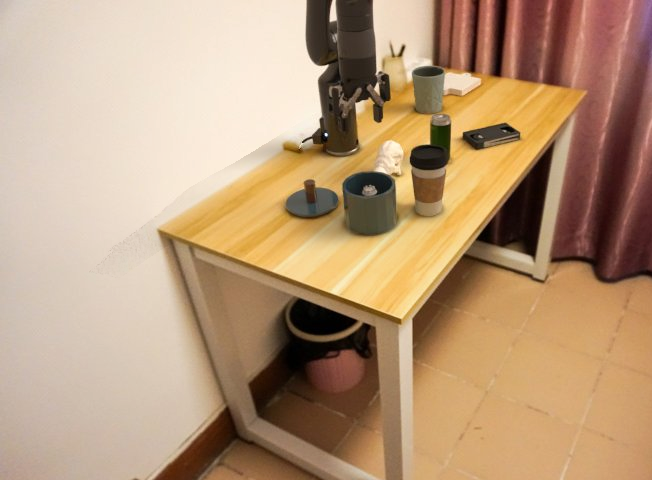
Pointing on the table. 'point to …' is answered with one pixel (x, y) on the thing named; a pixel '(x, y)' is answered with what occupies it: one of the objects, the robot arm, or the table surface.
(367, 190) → the rook chess piece
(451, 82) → the mounting plate
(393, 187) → the canister
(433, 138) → the beer can
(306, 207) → the lid
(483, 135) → the vhs tape
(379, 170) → the white figurine
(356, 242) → the table surface
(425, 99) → the grey green tumbler
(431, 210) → the coffee cup
